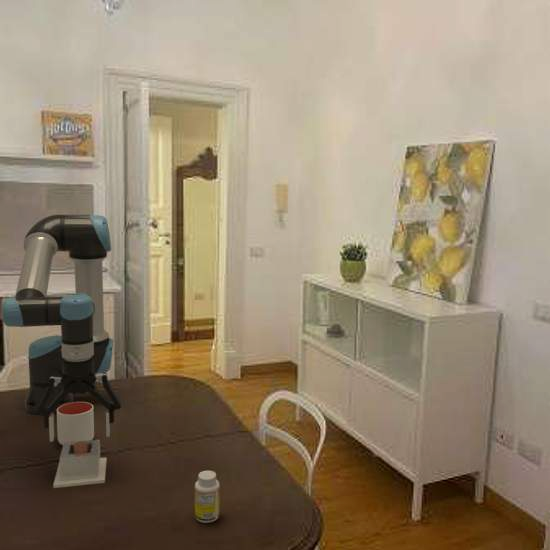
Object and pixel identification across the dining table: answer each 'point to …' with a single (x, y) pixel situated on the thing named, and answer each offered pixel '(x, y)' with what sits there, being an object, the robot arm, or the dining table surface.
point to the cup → (75, 422)
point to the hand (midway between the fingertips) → (80, 436)
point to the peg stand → (81, 448)
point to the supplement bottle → (207, 497)
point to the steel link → (80, 461)
